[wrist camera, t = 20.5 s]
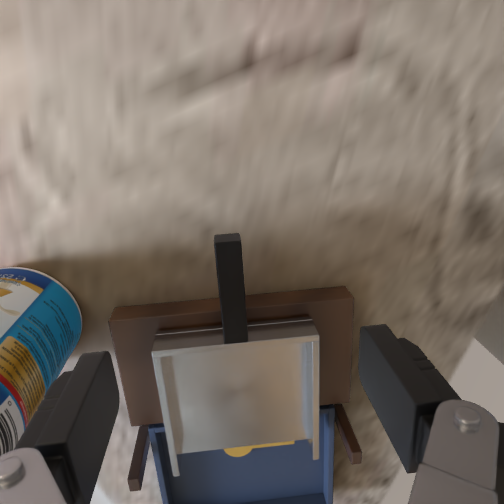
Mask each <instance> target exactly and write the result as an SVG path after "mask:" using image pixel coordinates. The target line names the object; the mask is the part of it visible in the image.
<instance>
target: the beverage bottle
mask: <svg viewBox="0 0 504 504" xmlns="http://www.w3.org/2000/svg"><path fill="white" fill-rule="evenodd" d="M81 332H82V316H81V311H80V308H79V306H78V304H77V302H76V300H75V298H74V297H73V295H72V294H71V293H70V292H69V290H68V289H67V288H66V287H65V286H64V285H62V284H61V283H60V282H59V281H57V280H56V279H54V278H53V277H51V276H49V275H47V274H45V273H42V272H40V271H37V270H33V269H29V268H22V267H7V268H0V456H1V455H3V454H5V453H7V452H9V451H12V450H14V448H15V447H16V445H17V443H18V441H19V440H20V438H21V436H22V434H23V433H24V431H25V429H26V427H27V426H28V424H29V422H30V420H31V419H32V417H33V415H34V413H35V412H36V411H37V410H38V406H39V405H40V403H41V401H42V400H44V396H45V394H46V392H47V391H48V389H49V387H50V385H51V384H52V383H53V382H54V381H55V380H56V379H57V377H58V376H59V374H60V372H61V370H62V368H63V367H64V365H65V363H66V361H67V360H68V358H69V356H70V355H71V353H72V352H73V350H74V348H75V347H76V345H77V343H78V341H79V339H80V336H81Z"/></svg>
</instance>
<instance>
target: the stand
mask: <svg viewBox="0 0 504 504" xmlns="http://www.w3.org/2000/svg"><path fill="white" fill-rule="evenodd" d="M245 301H246V315H247V323H248V322H258V321H268V320H278V319H289V318H299V317H309V316H311V318H312V320H313V322H314V324H315V327H316V329H317V331H318V333H319V406H320V405H329V404H338V403H347V402H350V383H351V357H352V332H353V306H354V298H353V296H352V295H351V293H350V292H349V290H348V289H347V288H346V286H341V287H331V288H320V289H309V290H298V291H288V292H277V293H266V294H255V295H245ZM108 322H109V327H110V331H111V336H112V340H113V345H114V349H115V354H116V359H117V363H118V368H119V372H120V377H121V381H122V386H123V391H124V395H125V400H126V404H127V409H128V413H129V418H130V422H131V426H140V425H147V426H140V427H139V431H138V436H137V440H136V445H135V449H134V453H133V458H132V462H131V466H130V471H129V475H128V485H129V489H130V491H138V490H141V487H142V481H143V476H144V471H145V465H146V460H147V455H148V450H149V444H150V436H149V431H148V427H149V424H158V423H164V421H163V416H162V410H161V405H160V399H159V393H158V388H157V382H156V376H155V371H154V365H153V360H152V354H151V351H152V347H153V343H154V339H155V335H156V332H157V331H165V330H176V329H186V328H196V327H206V326H217V325H222V318H221V308H220V298H212V299H202V300H191V301H180V302H169V303H159V304H148V305H137V306H126V307H116V308H114V311H113V313H112V315H111V317H110V319H109V321H108ZM334 408H335V421H336V424H337V427H338V430H339V432H340V435H341V438H342V440H343V443H344V446H345V448H346V451H347V454H348V456H349V459H350V462H351V464H360V463H361V460H362V451H361V449H360V446H359V444H358V441H357V439H356V437H355V434H354V432H353V429H352V427H351V425H350V422H349V420H348V417H347V415H346V413H345V410H344V408H343V405H342V404H338V405H334Z"/></svg>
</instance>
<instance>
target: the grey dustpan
mask: <svg viewBox="0 0 504 504" xmlns="http://www.w3.org/2000/svg"><path fill="white" fill-rule="evenodd" d="M214 248H215V258H216V268H217V278H218V288H219V298H220V308H221V318H222V325H217V326H206V327H196V328H186V329H176V330H165V331H157V332H156V335H155V339H154V343H153V347H152V351H151V354H152V360H153V365H154V371H155V376H156V382H157V388H158V393H159V399H160V405H161V410H162V416H163V421H164V427H165V433H166V438H167V444H168V450H169V455H170V461H171V467H172V472H173V476H174V477H175V476H180V469H181V458H182V454H183V453H192V452H201V451H209V450H218V449H227V448H235V447H244V446H252V445H261V444H270V443H278V442H287V441H296V440H304V439H307V440H308V444H309V447H310V451H311V455H312V458H313V460H317V459H319V333H318V331H317V329H316V327H315V324H314V322H313V320H312V318H311V316H309V317H299V318H289V319H278V320H268V321H258V322H248V323H247V315H246V301H245V287H244V274H243V260H242V246H241V238H240V234H239V233H234V234H222V235H215V236H214Z"/></svg>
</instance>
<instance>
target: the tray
mask: <svg viewBox="0 0 504 504" xmlns="http://www.w3.org/2000/svg"><path fill="white" fill-rule="evenodd" d="M334 421H335V408H334V405H333V404H329V405H320V406H319V459H317V460H313V458H312V455H311V451H310V447H309V444H308V440H307V439H304V440H296V441H294V442H295V443H294V444H289V445H280V446H270V447H261V448H252V450H251V451H250V452H249V453H248V454H246V455H244V456H241V457H233V456H230V455H228V454H227V453H226V452H225V451H224V449H218V450H209V451H201V452H192V453H183V454H182V458H181V469H180V476H175V477H174V476H173V472H172V467H171V461H170V455H169V450H168V444H167V438H166V433H165V427H164V423H158V424H149V427H148V431H149V436H150V441H151V446H152V451H153V456H154V461H155V466H156V471H157V476H158V481H159V486H160V491H161V496H162V501H163V504H333V467H334Z"/></svg>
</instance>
